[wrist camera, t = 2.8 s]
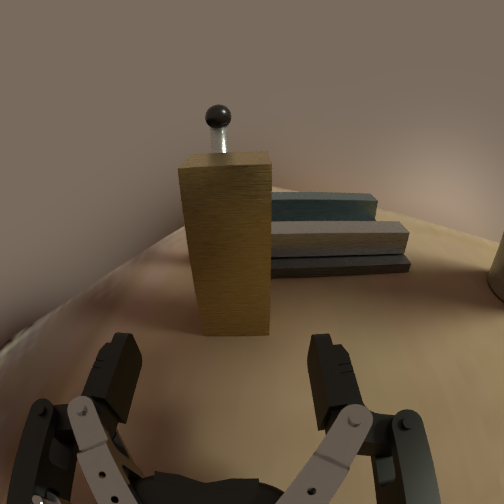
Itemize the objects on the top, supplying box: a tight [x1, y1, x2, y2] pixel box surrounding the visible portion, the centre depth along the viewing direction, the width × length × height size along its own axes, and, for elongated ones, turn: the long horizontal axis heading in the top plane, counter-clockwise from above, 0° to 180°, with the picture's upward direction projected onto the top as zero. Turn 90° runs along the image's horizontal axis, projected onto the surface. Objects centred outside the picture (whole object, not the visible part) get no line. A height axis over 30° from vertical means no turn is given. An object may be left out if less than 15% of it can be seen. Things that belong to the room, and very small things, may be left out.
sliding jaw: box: [205, 105, 409, 257], centre depth 28 cm, size 4×22×16 cm, turn 91°
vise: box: [271, 192, 411, 278], centre depth 36 cm, size 16×22×4 cm
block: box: [178, 151, 272, 336], centre depth 21 cm, size 4×6×14 cm
